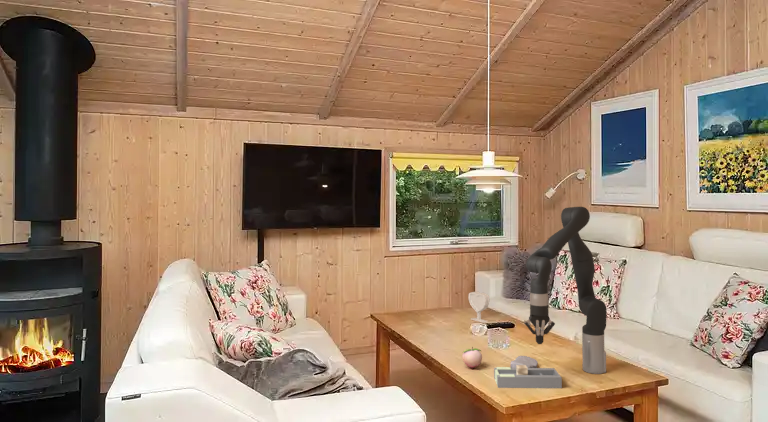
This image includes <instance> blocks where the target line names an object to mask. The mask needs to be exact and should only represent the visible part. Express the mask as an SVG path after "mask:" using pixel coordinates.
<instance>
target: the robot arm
mask: <svg viewBox="0 0 768 422" xmlns="http://www.w3.org/2000/svg"><path fill="white" fill-rule="evenodd" d="M590 219H591V214H590V211H589V209H587V207H584V206H572V207H565V208H563V210H562V211H561V215H560V220H561V221H560V222H561V224H562V225H561V226H562V228H560V230H557V232H555V233H553V234H552V235H550V237H549V238H547V240H546V241H545V243H544V244H543V245H542V246H541V247H540V248H539V249H537V250H536V251H535V252H533V253H531V254H530V256H529V257H528V258H527V260H526V262H525V266H526V269H527V271H528V272H530V273H535V274H538V275H537V277H535V278H532V279H531V280H530V284H529V285H530V294H529V295H530V296H529V316H528V320H526V321H525V320H524V322H523V323H524V325H525V326H526V328H527V329H528V330H529V331H530V332H531V334H533V335H535V342H536V343H537V345H543V343H544V336H545V335H548V334H549V332H550V331H552V329H553V327H554V326H555V325H556V323H555V322H554V321H552V320H551V319H550V316H549V310H550V309H549V302H550V301H549V292H548V289H549V288H548V286H549V285H548V283H549V280H550V277H551V276H550V275H551V273H552V262H551V261H552V260H554V259H555V258H556V257H558V255H559V253H561V251H562V250H563V248H564V247H565V246H566V244H568V249H569V250H568V251H569V254H570V255H569V256H570V258H571V259H570V261H571V265H572V269H573V275H574V280H575V284H576V289H577V301H578V308H579V310H580V313H582V314H583V315H584V316H586V321H585V322H586V323H585V324H584V325H583V326H582V328H581V331H582V332H581V333H582V334H581V336H582V337H581V338H582V342H581V343H582V345H581V346H582V347H581V348H582V350H581V351H582V371H584V372H586V373H588V374H595V375H601V374H603V373H604V374H605V373H607V351H606V350H605V329H606V328H607V306H606V303H605V302H604V301H603V300H602V299H599V298H597V297H596V295H595V291H594V284H593V282H594V281H593V280H594V277H595V269H596V268H595V262H594V257H593V256H594V255H593V253H592V251H591V250H590V248H589V247H588V246H587V244H586V243H585V242H584V241H583V239H582V238H581V235H580V233H579V232H580V231H582V229H584V228H585V226H587V225H588V223H589V221H590ZM531 324H532V326H534V329H533V328H532V326H531Z"/></svg>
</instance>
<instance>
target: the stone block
mask: <svg viewBox="0 0 768 422" xmlns="http://www.w3.org/2000/svg"><path fill="white" fill-rule="evenodd" d="M509 365H510V366H509V367H510V368H516V365H526V366H527V368H538V365H539V363H538V361H537V359H536V358H532V357H530V356H527V355H518V356H517V357H516V358H515V359H513V360H511V361H510V364H509Z"/></svg>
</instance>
